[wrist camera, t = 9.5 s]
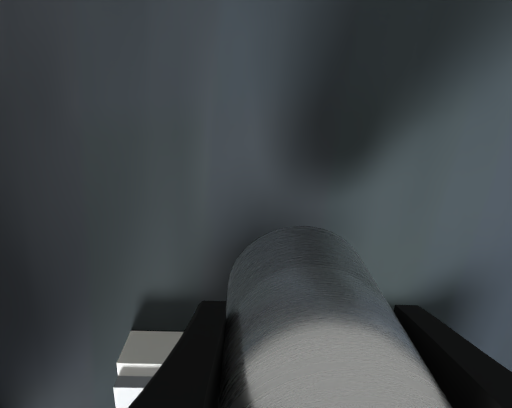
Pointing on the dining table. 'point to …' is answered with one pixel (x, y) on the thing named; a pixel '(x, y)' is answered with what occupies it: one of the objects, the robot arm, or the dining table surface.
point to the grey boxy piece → (141, 362)
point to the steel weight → (315, 331)
